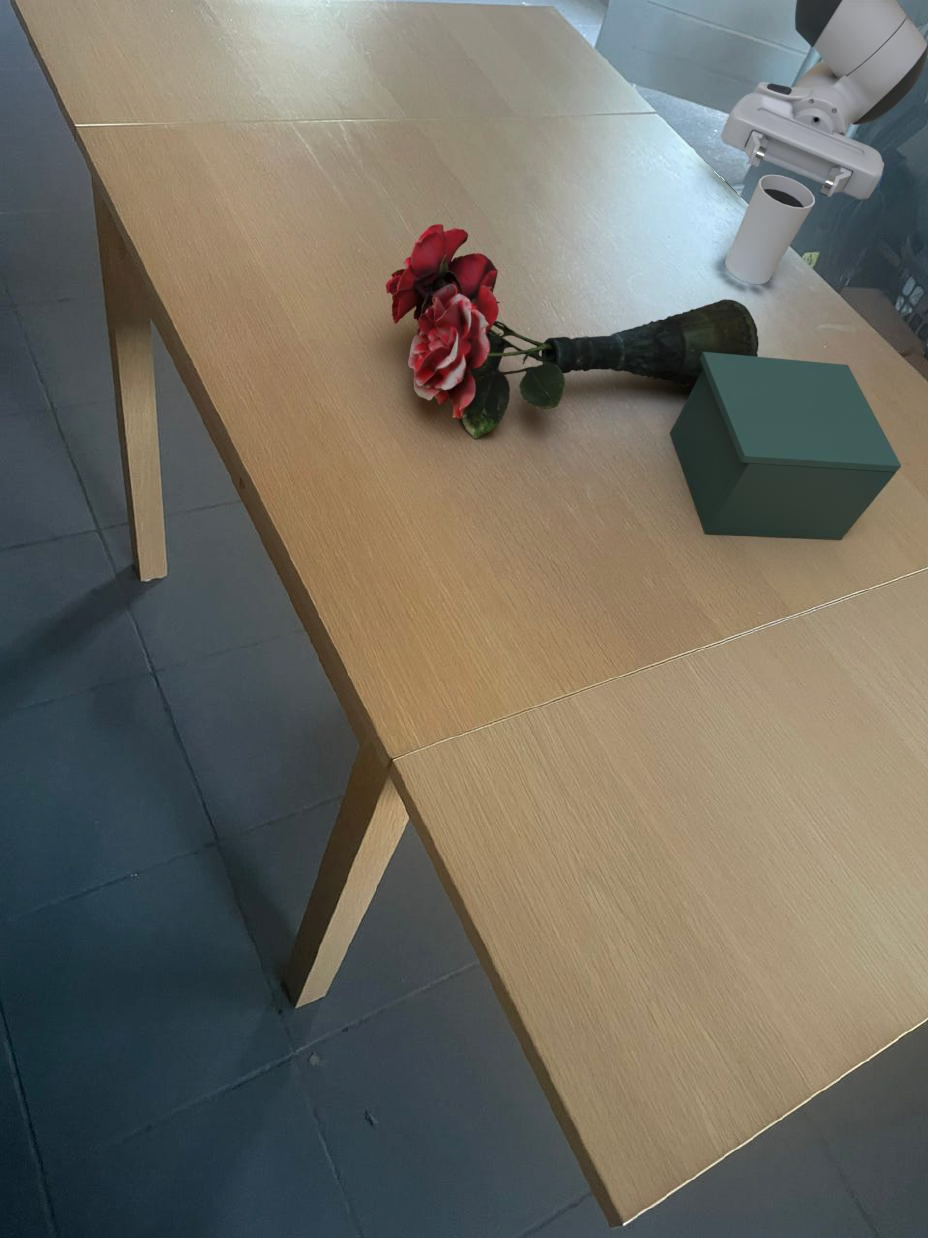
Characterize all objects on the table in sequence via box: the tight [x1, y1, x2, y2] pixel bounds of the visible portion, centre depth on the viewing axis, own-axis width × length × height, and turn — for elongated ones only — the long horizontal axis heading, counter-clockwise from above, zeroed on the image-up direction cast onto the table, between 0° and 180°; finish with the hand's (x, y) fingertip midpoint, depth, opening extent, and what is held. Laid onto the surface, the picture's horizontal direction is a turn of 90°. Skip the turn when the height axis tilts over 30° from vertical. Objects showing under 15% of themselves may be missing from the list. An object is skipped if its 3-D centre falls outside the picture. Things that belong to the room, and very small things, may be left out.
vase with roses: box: [385, 223, 760, 439], centre depth 87 cm, size 16×18×35 cm
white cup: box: [724, 174, 816, 285], centre depth 107 cm, size 7×7×10 cm
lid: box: [700, 352, 902, 473], centre depth 80 cm, size 15×13×1 cm
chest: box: [669, 368, 897, 541], centre depth 84 cm, size 14×13×9 cm
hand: (791, 174), depth 111 cm, fingers open, 8 cm apart
